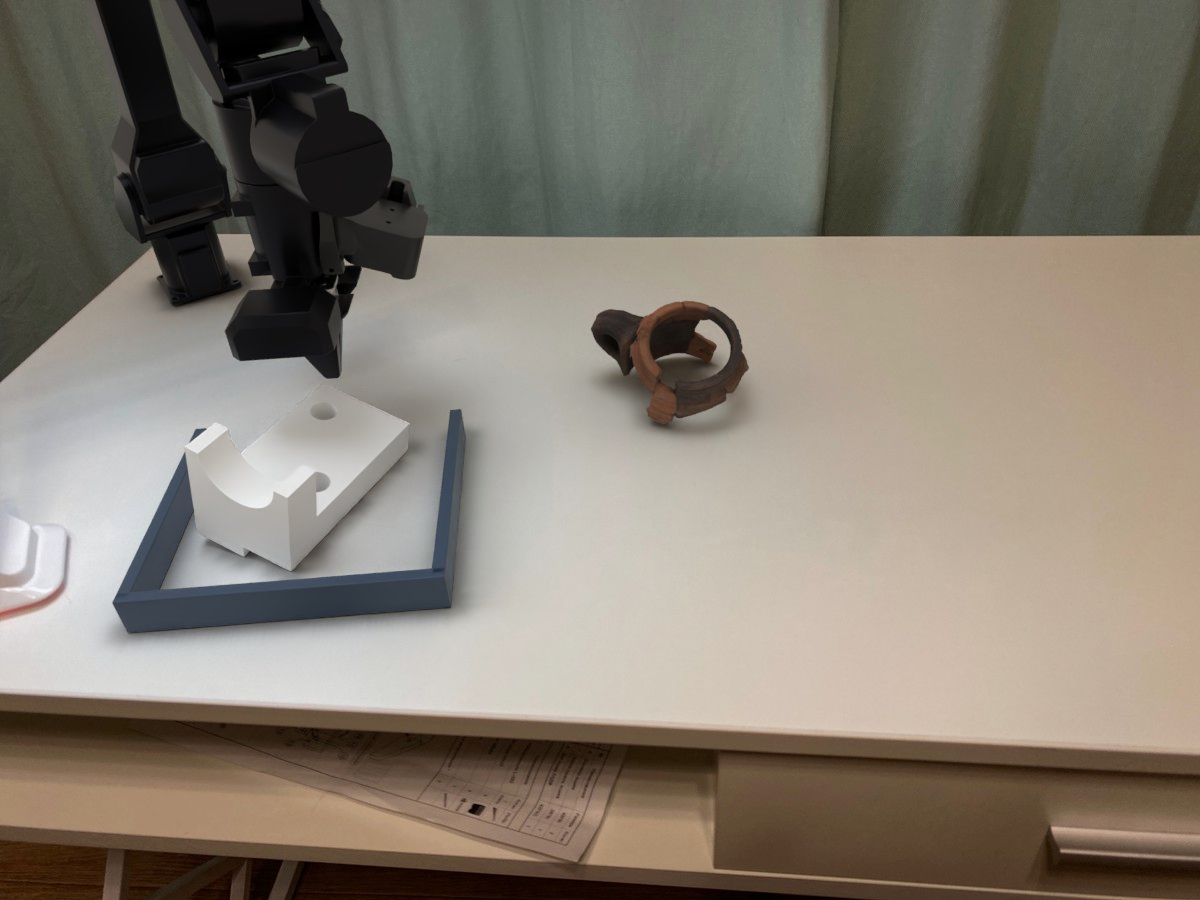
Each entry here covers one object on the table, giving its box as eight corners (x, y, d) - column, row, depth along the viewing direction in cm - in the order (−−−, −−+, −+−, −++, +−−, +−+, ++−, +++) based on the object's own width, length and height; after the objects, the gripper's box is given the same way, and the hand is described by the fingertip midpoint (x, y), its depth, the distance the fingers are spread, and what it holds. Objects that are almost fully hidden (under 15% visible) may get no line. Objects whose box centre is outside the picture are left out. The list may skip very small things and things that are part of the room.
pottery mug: (749, 363, 75) (770, 309, 67) (711, 467, 71) (730, 422, 63) (607, 313, 76) (612, 254, 68) (563, 412, 72) (563, 362, 65)
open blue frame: (206, 456, 67) (195, 428, 66) (466, 436, 68) (461, 408, 66) (127, 633, 54) (111, 603, 53) (451, 607, 54) (444, 576, 53)
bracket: (291, 581, 58) (287, 497, 53) (197, 532, 59) (184, 446, 54) (406, 459, 67) (412, 378, 62) (323, 420, 69) (322, 337, 64)
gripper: (390, 222, 52) (433, 445, 62) (421, 112, 67) (452, 306, 77) (188, 235, 52) (262, 457, 62) (264, 122, 67) (314, 315, 76)
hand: (333, 375), depth 69 cm, fingers closed
